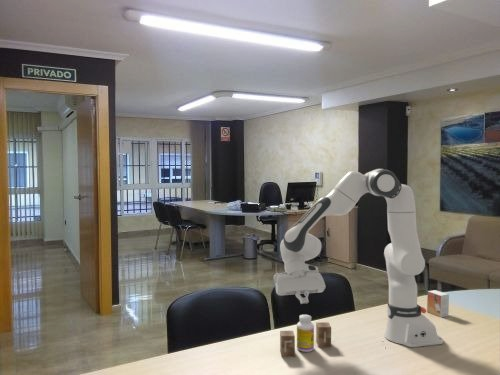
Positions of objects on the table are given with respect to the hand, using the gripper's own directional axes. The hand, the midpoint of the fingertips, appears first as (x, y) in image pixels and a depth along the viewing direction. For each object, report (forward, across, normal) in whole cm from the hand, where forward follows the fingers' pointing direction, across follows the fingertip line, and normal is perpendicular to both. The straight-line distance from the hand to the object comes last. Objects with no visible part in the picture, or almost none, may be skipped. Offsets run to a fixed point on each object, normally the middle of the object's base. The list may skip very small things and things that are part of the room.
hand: (304, 302), depth 159 cm
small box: (-1, +76, +27) cm, 80 cm away
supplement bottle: (+14, 0, +12) cm, 18 cm away
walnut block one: (+12, +8, +14) cm, 20 cm away
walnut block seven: (+15, -8, +10) cm, 20 cm away
